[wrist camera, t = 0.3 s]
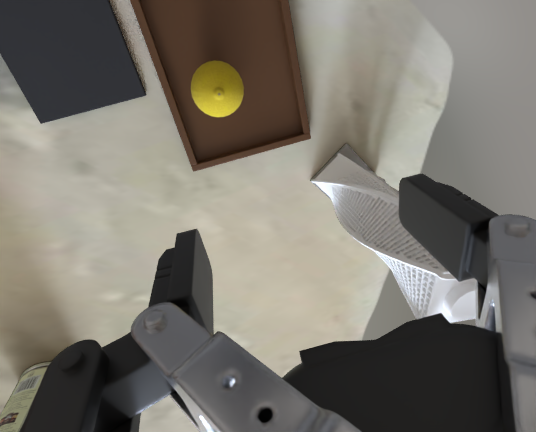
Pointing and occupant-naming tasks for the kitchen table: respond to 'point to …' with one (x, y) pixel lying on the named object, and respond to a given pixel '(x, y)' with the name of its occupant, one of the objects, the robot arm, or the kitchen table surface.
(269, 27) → the tray
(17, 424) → the coffee can
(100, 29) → the plate
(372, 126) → the kitchen table surface
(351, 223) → the skyscraper
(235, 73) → the lemon
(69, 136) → the kitchen table surface
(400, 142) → the kitchen table surface
